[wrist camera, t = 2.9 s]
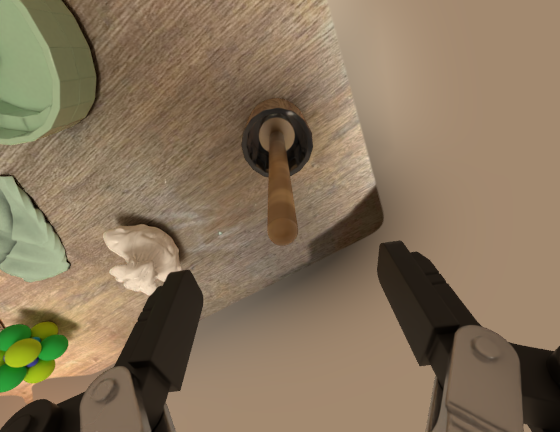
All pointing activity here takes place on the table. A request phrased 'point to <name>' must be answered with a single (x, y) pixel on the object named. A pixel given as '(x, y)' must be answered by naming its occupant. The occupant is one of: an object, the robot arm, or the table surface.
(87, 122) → the table surface
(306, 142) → the crock
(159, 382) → the robot arm
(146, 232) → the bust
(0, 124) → the bowl
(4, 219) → the cloth
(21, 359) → the molecule model
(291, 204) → the wooden plunger
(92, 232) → the table surface
